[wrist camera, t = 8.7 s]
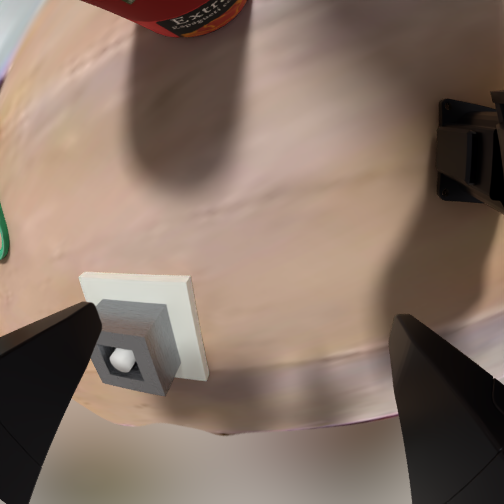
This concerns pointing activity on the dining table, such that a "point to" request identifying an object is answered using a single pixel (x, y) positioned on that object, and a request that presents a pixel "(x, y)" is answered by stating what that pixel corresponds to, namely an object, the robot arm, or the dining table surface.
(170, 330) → the square hole block
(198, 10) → the canned food
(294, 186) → the dining table surface
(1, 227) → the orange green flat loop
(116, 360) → the post block
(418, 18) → the dining table surface
